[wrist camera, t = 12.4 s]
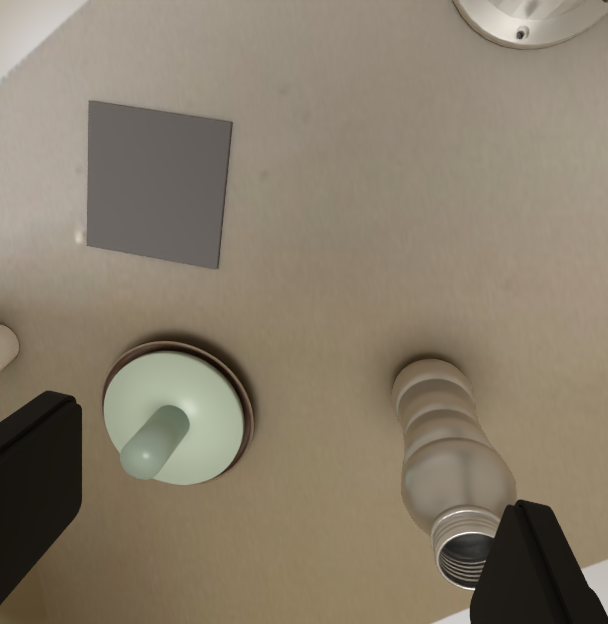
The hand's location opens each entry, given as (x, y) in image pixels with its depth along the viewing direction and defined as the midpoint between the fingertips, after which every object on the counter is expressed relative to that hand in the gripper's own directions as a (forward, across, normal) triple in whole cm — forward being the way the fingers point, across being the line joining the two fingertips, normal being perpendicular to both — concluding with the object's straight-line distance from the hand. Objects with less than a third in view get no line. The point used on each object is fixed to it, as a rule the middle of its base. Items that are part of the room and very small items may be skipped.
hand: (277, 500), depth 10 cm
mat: (+31, +18, -2) cm, 36 cm away
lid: (+28, +13, +18) cm, 36 cm away
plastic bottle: (+31, -9, +11) cm, 34 cm away
